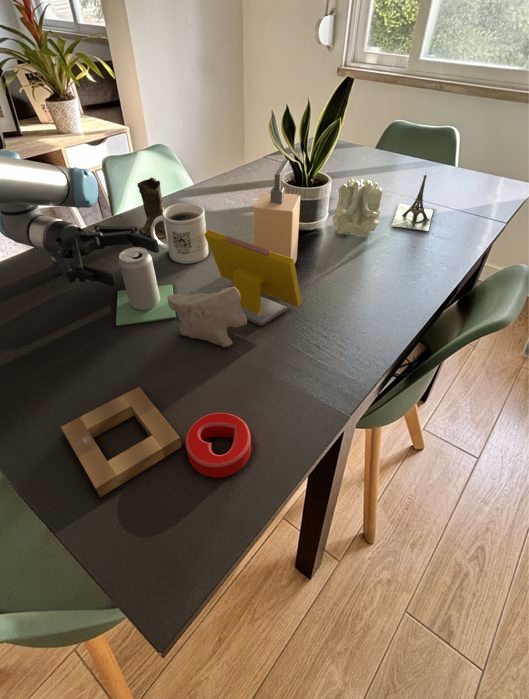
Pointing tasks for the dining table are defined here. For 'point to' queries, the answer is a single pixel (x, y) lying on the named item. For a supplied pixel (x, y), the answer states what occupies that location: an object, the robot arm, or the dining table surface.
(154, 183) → the tree stump
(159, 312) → the mat
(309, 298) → the dining table surface
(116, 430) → the dining table surface
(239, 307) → the sculpture
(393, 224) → the eiffel tower figurine
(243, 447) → the decorative ornament
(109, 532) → the dining table surface
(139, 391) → the can stand
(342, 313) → the dining table surface
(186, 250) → the mug
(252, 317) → the yellow framed monitor
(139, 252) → the beverage can
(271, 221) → the soap dispenser
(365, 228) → the wavy plaster lump
